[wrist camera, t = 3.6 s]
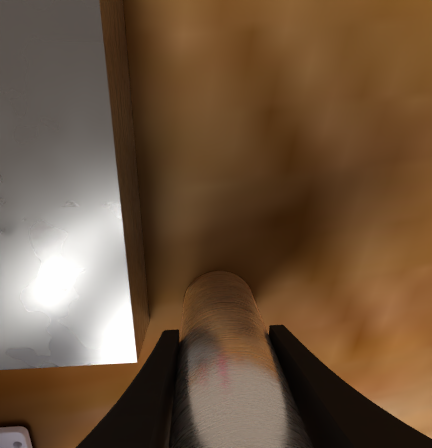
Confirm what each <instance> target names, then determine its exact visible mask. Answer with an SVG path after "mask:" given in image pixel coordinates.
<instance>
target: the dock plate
mask: <svg viewBox="0 0 432 448" xmlns="http://www.w3.org/2000/svg"><path fill="white" fill-rule="evenodd" d="M149 321H150V318H149V306H148V294H147V282H146V270H145V258H144V246H143V234H142V222H141V210H140V198H139V186H138V174H137V162H136V150H135V138H134V126H133V114H132V102H131V91H130V79H129V67H128V55H127V43H126V31H125V19H124V7H123V0H0V370H9V369H27V368H45V367H64V366H82V365H100V364H119V363H137V361H138V358H139V355H140V351H141V348H142V345H143V341H144V338H145V335H146V331H147V328H148V325H149Z"/></svg>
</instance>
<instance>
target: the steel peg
mask: <svg viewBox="0 0 432 448" xmlns="http://www.w3.org/2000/svg"><path fill="white" fill-rule="evenodd" d="M168 448H313V446H312V444H311V441H310V439H309V436H308V433H307V431H306V428H305V426H304V423H303V421H302V418H301V416H300V413H299V411H298V408H297V406H296V403H295V401H294V398H293V396H292V393H291V391H290V388H289V385H288V383H287V380H286V378H285V375H284V373H283V370H282V368H281V365H280V363H279V360H278V358H277V355H276V353H275V350H274V348H273V345H272V343H271V340H270V338H269V335H268V332H267V330H266V327H265V325H264V322H263V320H262V317H261V315H260V312H259V310H258V307H257V305H256V302H255V300H254V297H253V295H252V292H251V290H250V288H249V286H248V284H247V283H246V282H245V281H244V280H243V279H242V278H241V277H239V276H238V275H236V274H233V273H230V272H226V271H213V272H209V273H206V274H204V275H201V276H200V277H198V278H197V279H195V280H194V281H193V282H192V283H191V284H190V286H189V287H188V289H187V291H186V293H185V296H184V303H183V313H182V322H181V332H180V341H179V352H178V361H177V370H176V380H175V389H174V399H173V408H172V418H171V427H170V437H169V446H168Z"/></svg>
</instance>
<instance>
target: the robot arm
mask: <svg viewBox="0 0 432 448" xmlns="http://www.w3.org/2000/svg"><path fill="white" fill-rule="evenodd" d="M269 338H270V340H271V343H272V345H273V348H274V350H275V353H276V355H277V358H278V360H279V363H280V365H281V368H282V370H283V373H284V375H285V378H286V380H287V383H288V385H289V388H290V391H291V393H292V396H293V398H294V401H295V403H296V406H297V408H298V411H299V413H300V416H301V418H302V421H303V423H304V426H305V428H306V431H307V433H308V436H309V439H310V441H311V444H312V446H313V448H432V439H431V438H429V437H427V436H426V435H424V434H422V433H420V432H419V431H417V430H415V429H414V428H412V427H410V426H409V425H407V424H405V423H404V422H402V421H401V420H399V419H397V418H396V417H394V416H393V415H391V414H390V413H388V412H387V411H385V410H384V409H382V408H380V407H379V406H377V405H376V404H375V403H373V402H372V401H370V400H369V399H367V398H366V397H365V396H363V395H362V394H361V393H359V392H358V391H357V390H355V389H354V388H353V387H351V386H350V385H349V384H347V383H346V382H345V381H343V380H342V379H341V378H340V377H339V376H337V375H336V374H335V373H334V372H333V371H331V370H330V369H329V368H328V367H327V366H326V365H324V364H323V363H322V362H321V361H320V360H319V359H318V358H317V357H316V356H314V355H313V354H312V353H311V352H310V351H309V350H308V349H307V348H306V347H305V346H304V345H303V344H302V343H301V342H300V341H299V340H298V339H297V338H296V337H295V336H294V335H293V334H292V333H291V332H290V331H289V330H288V329H287V328H286V327H285V326H284V325H270V328H269ZM178 352H179V330H165V331H164V332H163V333H162V335H161V337H160V339H159V340H158V342H157V344H156V346H155V348H154V349H153V351H152V353H151V354H150V356H149V358H148V359H147V361H146V362H145V364H144V365H143V367H142V369H141V370H140V372H139V373H138V374H137V376H136V377H135V379H134V380H133V381H132V383H131V384H130V386H129V387H128V388H127V390H126V391H125V392H124V394H123V395H122V396H121V398H120V399H119V400H118V401H117V403H116V404H115V405H114V406H113V407H112V409H111V410H110V411H109V412H108V413H107V414H106V416H105V417H104V418H103V419H102V420H101V421H100V422H99V423H98V425H97V426H96V427H95V428H94V429H93V430H92V431H91V432H90V433H89V434H88V435H87V437H86V438H85V439H84V440H83V441H82V442H81V443H80V444H79V445H78V446H77V447H76V448H168V446H169V437H170V427H171V418H172V408H173V399H174V389H175V380H176V370H177V361H178ZM0 448H32V444H31V441H30V437H29V433H28V430H27V429H26V428H25V427H22V426H15V427H1V428H0Z"/></svg>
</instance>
